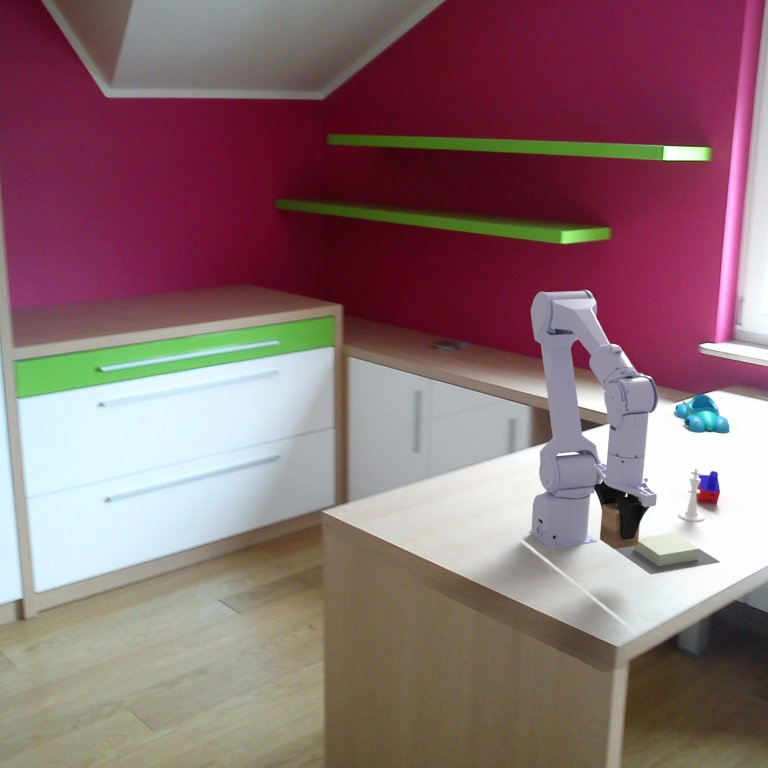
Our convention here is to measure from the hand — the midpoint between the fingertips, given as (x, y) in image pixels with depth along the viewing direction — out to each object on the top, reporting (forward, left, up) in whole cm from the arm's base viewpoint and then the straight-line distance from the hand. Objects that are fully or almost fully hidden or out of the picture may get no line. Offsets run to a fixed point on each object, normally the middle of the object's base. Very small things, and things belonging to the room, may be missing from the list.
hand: (619, 532), depth 158 cm
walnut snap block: (0, 0, -2) cm, 2 cm away
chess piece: (+28, +17, -8) cm, 34 cm away
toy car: (+71, +68, -9) cm, 99 cm away
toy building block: (+37, +24, -8) cm, 45 cm away
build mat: (+13, +4, -8) cm, 16 cm away
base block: (+13, +4, -8) cm, 16 cm away
